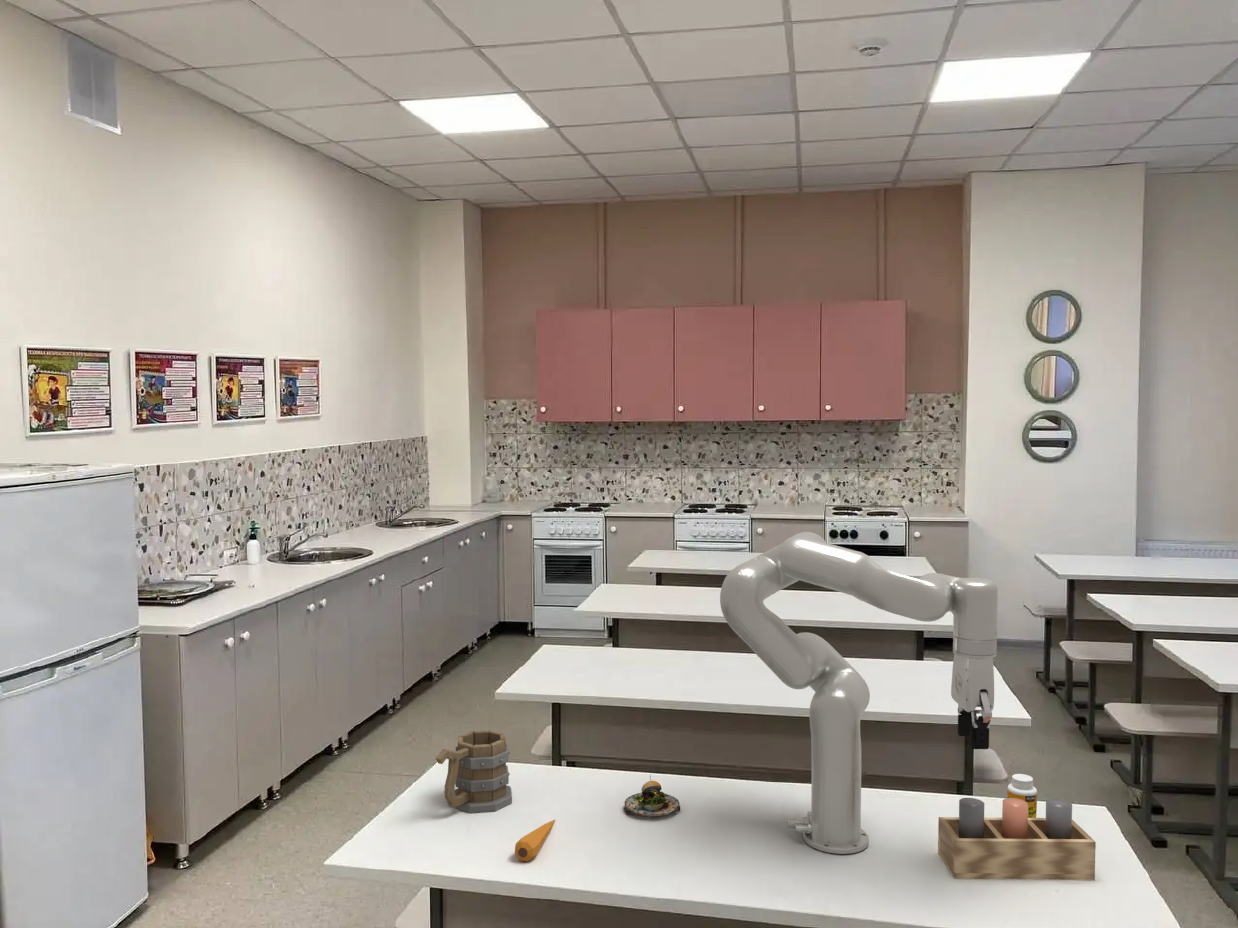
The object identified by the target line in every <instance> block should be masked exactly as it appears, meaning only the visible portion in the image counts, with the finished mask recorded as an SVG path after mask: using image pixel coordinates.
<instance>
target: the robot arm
mask: <svg viewBox="0 0 1238 928" xmlns="http://www.w3.org/2000/svg"><path fill="white" fill-rule="evenodd" d="M799 581H802V582H803V583H808V584H812V585H815V586H819V587H821V588H825V589H829V590H833V591H835V592H840V593H843V594H846V595H848V596H852V597H854V598H855V599H857V600H859V601H862V602H864V603H866V604H869V605H870V606H873V607H875V608H877V609H879V610H882V611H885V612H888V613H891V614H894V615H898V616H900V617H904V618H907V619H911V620H915V621H920V622H928V623H929V622H935V621H939V620H940V619H942V618H943V617H944V616H945V615H946V614H947V613H948V612H949V613H950V612H951V613H952V614H953V624H952V627H953V629H952V630H953V634H952V635H953V637H952V640H953V641H952V654H954V655H953V662H952V670H951V671H952V672H951V673H952V674H951V687H950V688H951V689H950V695H951V698H952V699H953V701H954V702H955V703H956V704H957V713H958V714H957V735H958V736H959V737H969V738H970V739H969V741H970V742H969V747H970V748H971V749H972V750H988V749H989V748H990V728H991V720H992V718H993V711H994V706H995V672H994V671H995V670H994V661H993V659H994V658H996V657H997V649H998V648H997V646H998V645H997V641H998V640H997V639H998V637H997V636H998V635H997V634H998V633H997V632H998V600H999V599H998V598H999V597H998V594H999V591H998V590H999V589H998V586H997V584H996V582H995V581H993V580H991V579H988V578H984V577H982V578H981V577H958V576H952V575H947V574H944V573H939V572H929V573H925V574H923V575H921V576H920V577H919V578H915V577H913V576H909V575H905V574H901V573H898V572H895V571H892V570H890V569H888V568H885V567H883V566H881V565H880V564H878V563H877V562H875V561H874V560H873V559H872V558H871V557H870V555H868V554H865V553H864V552H862V551H858V550H854V549H851V548H848V547H847V548H846V547H844V546H838V545H836V544H832V543H829V542H826V541H825V539H824V538H823V537H821V535H819V534H817V533H815V532H811V531H802V532H798V533H795V534H794V535H792V536H790V537H788V538H787V539H785V540H784V541H783V542H782V543H780V544H778V545H777V546H774V547H772V548H771V549H769V550H767V551H765V552H762V553H760V554H759V555H757V556H755V557H753V558H751V559H749V560H747V561H744V562H743V563H739V564H738V565H736V566H735V567H734V568H733V569H731V570H730V571H729V572H728V573H727V575H726V576H725V578H724V580H723V582H722V585H721V589H720V594H719V604H720V609H721V613H722V615H723V618H724V620H725V621H726V623H727V625H728V626H729V627H730V628H731V630H733V632H734V633H735V634H736V635H737V636H738V637H739V638H740V639H741V640H742V641H743V642H744V643H745V644H746V645H747V646H748V647H749V648H750V649H751V650H752V651H753V652H754V654H755V655H756V656H757V657H758V658H759V659H760V660H761V661H762V662H763V664H765V666H766V667H768V668H769V669H770V671H771V672H773V674H774V675H775V676H776V677H777V678H778V679H779V680H780V681H781V682H782V683H783V684H784V685H785V686H787V687H788V688H791V689H793V690H804V689H806V688H808V687H810V688H811V689H812V690H813V691H814V694H813V696H812V698H811V701H810V705H809V711H808V715H809V726H810V727H809V728H810V738H811V793H810V794H811V796H810V797H811V798H810V799H811V804H810V807H811V808H810V811H807V816H804V815H803V816H802V817H801V818H799V817H798V818H797V817H786V825H787V826H786V827H787V828H788V829H794V830H795V833H802V837H803V838H802V839H803V841H804V842H805V843H806V844H807V845H808V846H810V847H812V848H813V849H815V850H818V851H821V852H825V853H829V854H836V855H849V854H855V853H858V852H862V851H864V850H865V849H867V847H868V845H869V843H870V842H869V840H870V838H869V835H868V833H867V832H866V831H865V830H864V829H862V828H861V827H862V826H861V825H862V824H861V823H862V822H861V821H862V813H861V812H862V741H861V740H862V737H861V718H862V717H863V714H864V712H865V711H866V709H867V707H868V706H869V703H870V699H871V698H870V697H871V696H870V695H871V694H870V688H869V686H868V684H867V682H866V680H865V678H863V677H862V675H861V674H860V673H859V672H858V671H857V670H856V669H855V668H854V667H853V665H851V664H850V662H848V661H847V660H846V659H845V658H844V657H843V656H842V655H841V654H840V653H839V652H838V651H837V650H836V649H835V648H834V647H833V646H832V645H831V644H830V643H829V642H828V641H827V640H825V639H824V638H823V637H822V636H819V635H818V634H816V633H812V632H808V631H807V632H799V633H796V632H794V631H793V630H792V629H791V628H790V626H788V625H787V624H786V623H785V622H784V621H783V619H782V618H780V617H779V616H778V615H777V614H776V613H774V612H772V610H770V609H769V608H767V607H766V605H765V604H764V601H765V600H766V599H768V598H769V597H771V596H772V595H774V594H776V593H777V592H780V591H781V590H783V589H785V588H787V587H789V586H791V585H793V584H795V583H797V582H799ZM977 708H981V709H977ZM977 714H978V715H979V716H978V717H977Z"/></svg>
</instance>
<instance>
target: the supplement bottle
mask: <svg viewBox="0 0 1238 928" xmlns="http://www.w3.org/2000/svg"><path fill="white" fill-rule="evenodd" d="M1007 798H1016V799H1021V800H1023V801H1025V802H1027V803H1028V818H1037V811H1038V810H1037V808H1038V807H1037V804H1038V803H1037V802H1038V790H1037V788H1036V787H1035V786H1034V778H1033V776H1031V775H1028V774H1024V773H1023V774H1022V773H1015V774H1013V775H1012V776H1011V783H1009V784H1008V786H1007Z"/></svg>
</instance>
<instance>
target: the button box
mask: <svg viewBox="0 0 1238 928" xmlns="http://www.w3.org/2000/svg"><path fill="white" fill-rule="evenodd" d="M1045 823H1046V817H1036V818H1028V839H1004V838H1003V837H1002V817H984V839H977V838H959V816H958V817H957V816H954V817H953V816H951V817H950V816H949V817H947V816H945V817H944V816H941V817H940V816H939V817H938V827H937V829H938V830H937V831H938V832H937V834H938V837H937V854H938V855H939V857H940V858H941V859H942V861H943V863H944V864H945V866H946V867H947V869H948V870H949V872H950V873H951V875H952V877H953V878H954V879H963V880H965V879H969V880H971V879H973V880H977V879H978V880H984V879H986V880H990V879H991V880H1071V881H1072V880H1077V881H1078V880H1085V881H1086V880H1088V881H1089V880H1090V881H1091V880H1093V881H1095V880H1096V847H1097V846H1096V842H1097V841H1095V839H1093V838H1092V837H1091V836H1090V835H1089V834H1088V833H1087V832H1086V831H1085V830H1084V829H1083V828H1082V827H1081V826H1080V825H1079V824H1078V823H1077V822H1076V821H1075V820H1074V819H1072V832H1071V839H1048V838H1047V837H1046V836H1045Z"/></svg>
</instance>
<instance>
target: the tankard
mask: <svg viewBox="0 0 1238 928" xmlns="http://www.w3.org/2000/svg"><path fill="white" fill-rule="evenodd" d="M509 755H510V751H509V748H508V743H507V742H506V734H505V733H503V732H499V731H496V730H492V729H484V730H481V729H480V730H472V731H469V732H465V733H463V734H461V735H459V736H458V737H457V746H455V750H450V749H446V748H442V750H441V751H440V752H439V753H438V754H437V756H436V757H435V761H436V763H438V764H440V765H443V764H444V763H445V761H446V760H448V764H447V773H446V779H445V784H444V799H445V801H446V802H447V804H448V807H450V808H455V809H458V810H461V811H464V812H466V813H468V814H478V813H491V812H493V813H494V812H497V811H499V810H501V809H503V808H505V807H507V806H508V805H511V804H512V803H513V794H512V793H513V792H512V786H510V785H508V784H509V783H510V779H509V776H510V772H509V767H508V765H507V763H508V762H509Z"/></svg>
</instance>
